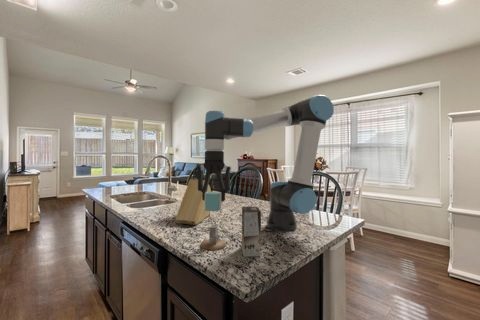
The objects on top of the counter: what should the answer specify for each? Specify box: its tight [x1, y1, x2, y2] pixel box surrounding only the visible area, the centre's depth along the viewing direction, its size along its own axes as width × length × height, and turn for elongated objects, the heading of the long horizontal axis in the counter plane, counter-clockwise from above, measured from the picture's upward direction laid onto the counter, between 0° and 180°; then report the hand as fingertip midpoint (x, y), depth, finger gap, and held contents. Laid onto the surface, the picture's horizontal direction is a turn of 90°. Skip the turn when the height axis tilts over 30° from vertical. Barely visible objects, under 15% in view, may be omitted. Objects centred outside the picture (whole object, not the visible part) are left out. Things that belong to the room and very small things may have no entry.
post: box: [200, 225, 227, 251], centre depth 92 cm, size 10×10×8 cm
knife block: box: [175, 163, 215, 226], centre depth 133 cm, size 11×35×31 cm, turn 170°
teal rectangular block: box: [205, 191, 221, 212], centre depth 92 cm, size 5×5×7 cm
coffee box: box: [241, 206, 262, 258], centre depth 86 cm, size 9×6×16 cm
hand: (213, 208), depth 92 cm, fingers closed on teal rectangular block, 5 cm apart
